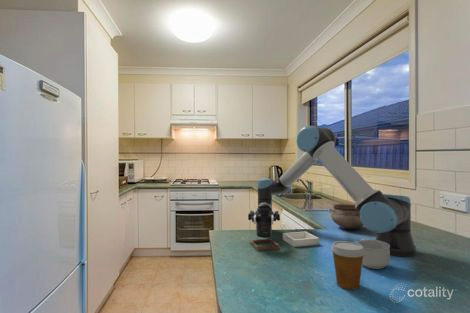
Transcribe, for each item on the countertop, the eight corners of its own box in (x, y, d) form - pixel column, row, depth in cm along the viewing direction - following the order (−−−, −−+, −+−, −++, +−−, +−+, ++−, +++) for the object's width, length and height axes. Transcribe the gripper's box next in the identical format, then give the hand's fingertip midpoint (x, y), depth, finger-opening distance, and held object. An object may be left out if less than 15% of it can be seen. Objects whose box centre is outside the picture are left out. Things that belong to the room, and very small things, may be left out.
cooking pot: (380, 229, 149) (380, 207, 149) (363, 236, 137) (363, 211, 137) (337, 221, 168) (337, 201, 168) (319, 226, 156) (319, 205, 156)
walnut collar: (279, 248, 119) (279, 245, 119) (257, 250, 116) (257, 247, 116) (270, 241, 129) (270, 238, 129) (249, 243, 126) (249, 240, 126)
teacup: (394, 273, 93) (394, 249, 93) (360, 270, 95) (360, 247, 96) (381, 258, 107) (381, 237, 107) (351, 256, 109) (351, 236, 109)
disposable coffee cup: (371, 291, 80) (371, 249, 80) (339, 293, 80) (339, 251, 80) (354, 277, 90) (354, 240, 90) (326, 278, 89) (325, 241, 89)
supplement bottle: (255, 234, 126) (254, 207, 126) (270, 233, 126) (269, 206, 126) (257, 238, 119) (257, 210, 119) (273, 237, 119) (273, 209, 120)
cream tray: (319, 244, 124) (319, 238, 124) (294, 247, 121) (294, 240, 121) (305, 237, 135) (305, 231, 135) (282, 239, 132) (282, 233, 132)
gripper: (284, 218, 139) (287, 230, 116) (245, 218, 142) (240, 229, 119) (284, 203, 139) (287, 212, 117) (244, 203, 142) (240, 211, 119)
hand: (263, 221), depth 118 cm, fingers closed on supplement bottle, 7 cm apart
